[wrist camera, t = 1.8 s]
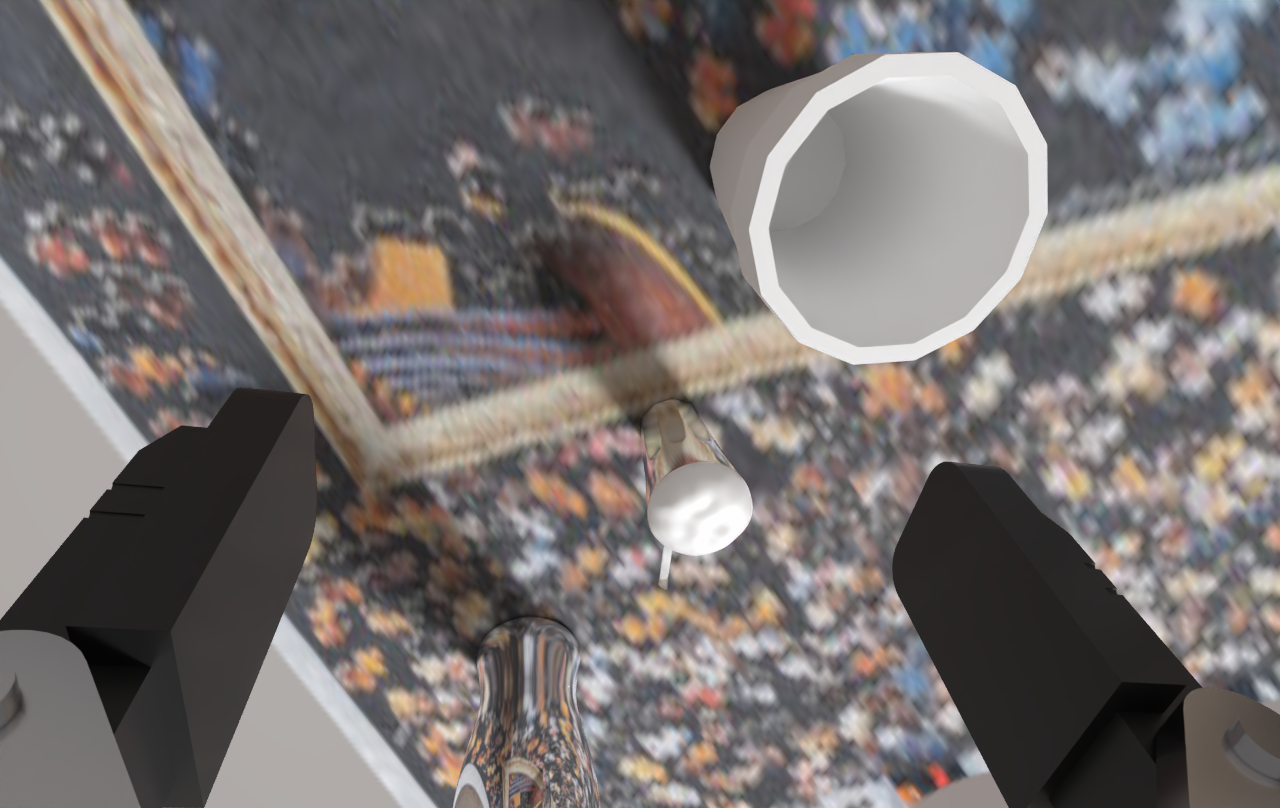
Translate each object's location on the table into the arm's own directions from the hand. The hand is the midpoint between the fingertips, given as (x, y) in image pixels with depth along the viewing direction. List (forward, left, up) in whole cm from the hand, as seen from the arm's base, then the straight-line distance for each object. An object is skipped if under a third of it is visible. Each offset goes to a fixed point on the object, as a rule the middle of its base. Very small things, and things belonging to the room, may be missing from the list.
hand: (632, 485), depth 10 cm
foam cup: (-8, +5, -27) cm, 29 cm away
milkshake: (+4, +13, -27) cm, 30 cm away
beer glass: (+19, +20, -27) cm, 39 cm away
